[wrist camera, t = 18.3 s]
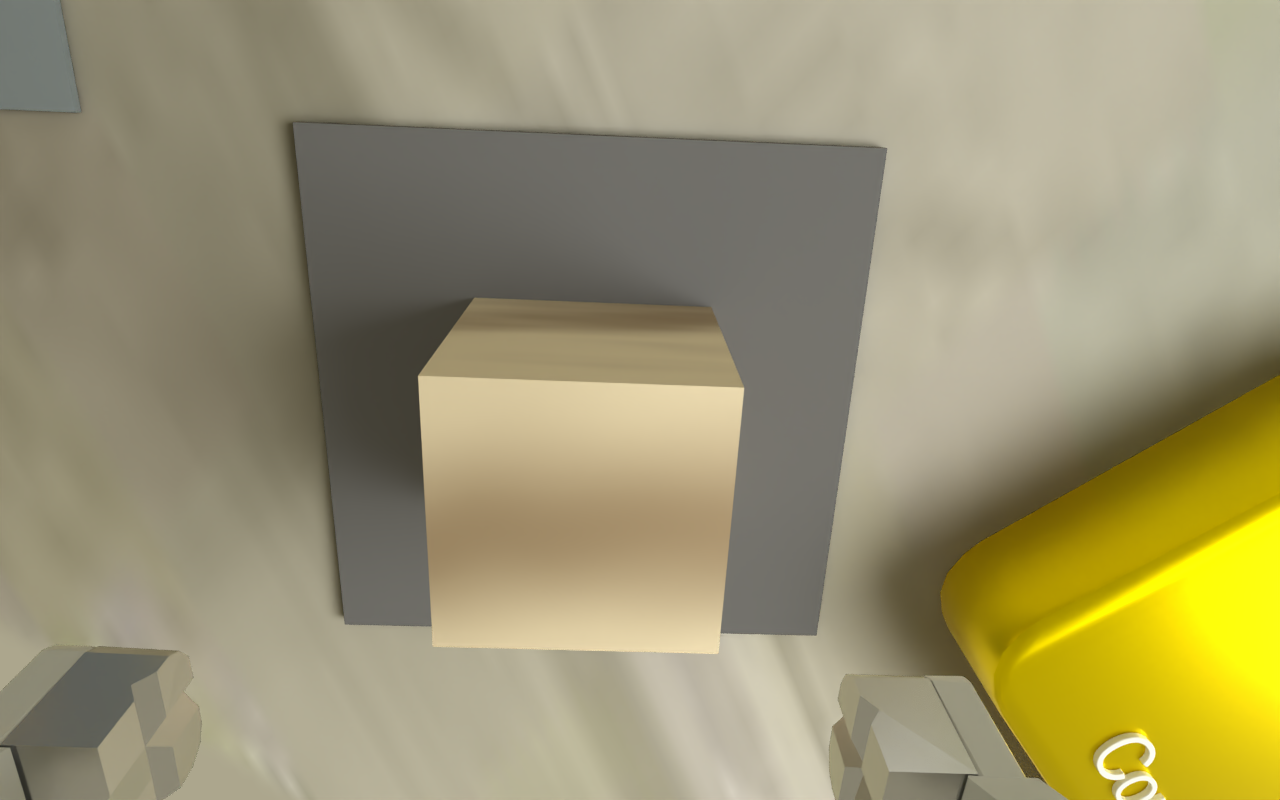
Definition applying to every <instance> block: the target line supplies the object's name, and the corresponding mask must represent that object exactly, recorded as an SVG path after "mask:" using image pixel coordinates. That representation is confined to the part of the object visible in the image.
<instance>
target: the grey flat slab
mask: <svg viewBox="0 0 1280 800" xmlns="http://www.w3.org/2000/svg"><path fill="white" fill-rule="evenodd" d="M0 109H8V110H30V111H53V112H81V108H80V103H79V98H78V93H77V88H76V82H75V77H74V72H73V67H72V61H71V56H70V51H69V46H68V41H67V35H66V30H65V25H64V20H63V14H62V9H61V4H60V0H0Z"/></svg>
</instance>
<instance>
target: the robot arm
mask: <svg viewBox="0 0 1280 800" xmlns="http://www.w3.org/2000/svg"><path fill="white" fill-rule="evenodd" d="M193 678H194V676H193V672H192V668H191V664H190V660H189V656H188V655H186V654H184V653H182V652H181V651H174V650H157V649H139V648H122V647H105V646H98V647H91V646H74V645H54V646H51V647H49V648H46V649H44V650H42V651H41V652H40V653H39V654H38V655H37V656H36V657H35V658H34V659H33V660H32V661H31V662H30V663H29V664H28V665H27V666H26V667H25V668H24V669H23V670H22V671H21V672H20V673H19V674H18V675H17V676H16V677H15V678H14V679H13V680H11V681H10V683H8V685H6V686H5V687H4V688H3V690H2V691H0V800H163V799H165V798H166V797H168V796H169V795H171V794H172V793H173V792H175V791H177V790H178V789H180V788H181V786H182V784H183V783H184V781H185V780H186V778H187V776H188V774H189V773H190V771H191V769H192V768H193V765H194V762H195V759H196V755H197V752H198V749H199V746H200V743H201V728H202V721H201V715H200V709H199V706H198V705H197V704H196V703H195V702H194V701H193V700H192V699H191V698H190V697H189V696H188V695H187V694H186V693H185V692H184V691H185V689H186V688H187V686H188V685H189V684H190V682H191V681H192V679H193ZM838 701H839V704H840V707H841V710H842V713H843V717H842V718H841V719H840V720H839V721H838V722H837V723H836V724H835V725H834V726H832V732H831V738H830V744H829V772H830V778H831V785H832V790H833V793H834V797H835V800H1068V799H1067V798H1065V797H1064V796H1062V795H1061V794H1060V793H1058V792H1057V791H1056V790H1054V789H1053V788H1051V787H1050V786H1049V785H1047V784H1046V783H1044V782H1043V781H1042V780H1040V779H1039V778H1026V776H1025V775H1024V773H1023V771H1022V769H1021V768H1020V766H1019V764H1018V763H1017V761H1016V759H1015V757H1014V756H1013V754H1012V752H1011V751H1010V749H1009V747H1008V745H1007V744H1006V742H1005V740H1004V739H1003V737H1002V735H1001V733H1000V732H999V730H998V728H997V727H996V725H995V723H994V721H993V720H992V718H991V716H990V715H989V713H988V711H987V709H986V708H985V706H984V704H983V702H982V701H981V699H980V697H979V696H978V694H977V692H976V690H975V689H974V687H973V685H972V684H971V682H970V681H969V680H968V679H966V678H965V677H964V676H923V677H921V676H892V675H857V674H846V675H845V677H844V678H843V680H842V682H841V686H840V691H839V695H838Z"/></svg>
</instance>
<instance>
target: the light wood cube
mask: <svg viewBox="0 0 1280 800" xmlns="http://www.w3.org/2000/svg"><path fill="white" fill-rule="evenodd" d="M418 385H419V403H420V422H421V440H422V458H423V476H424V495H425V513H426V531H427V549H428V567H429V586H430V604H431V622H432V640H433V647H468V648H508V649H548V650H587V651H627V652H667V653H707V654H718V652H719V642H720V632H721V621H722V611H723V601H724V591H725V580H726V570H727V560H728V550H729V539H730V529H731V519H732V509H733V498H734V488H735V478H736V468H737V457H738V447H739V437H740V427H741V416H742V406H743V396H744V386H743V383H742V381H741V378H740V376H739V374H738V371H737V369H736V366H735V364H734V361H733V359H732V356H731V354H730V352H729V349H728V347H727V344H726V342H725V339H724V337H723V334H722V332H721V330H720V327H719V325H718V322H717V320H716V317H715V315H714V312H713V310H712V308H711V307H696V306H671V305H646V304H621V303H596V302H571V301H546V300H521V299H496V298H474V299H473V300H472V302H471V303H470V304H469V306H468V307H467V309H466V310H465V311H464V313H463V314H462V316H461V317H460V318H459V320H458V321H457V322H456V324H455V325H454V327H453V328H452V329H451V331H450V332H449V334H448V335H447V336H446V338H445V339H444V340H443V342H442V343H441V345H440V346H439V347H438V349H437V350H436V352H435V353H434V354H433V356H432V357H431V358H430V360H429V361H428V363H427V364H426V365H425V367H424V368H423V370H422V371H421V372H420V374H419V375H418Z"/></svg>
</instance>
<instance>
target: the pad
mask: <svg viewBox="0 0 1280 800" xmlns="http://www.w3.org/2000/svg"><path fill="white" fill-rule="evenodd" d="M293 130H294V140H295V150H296V159H297V169H298V178H299V188H300V198H301V207H302V217H303V227H304V236H305V246H306V255H307V265H308V275H309V284H310V294H311V303H312V313H313V323H314V332H315V342H316V351H317V361H318V371H319V380H320V390H321V400H322V409H323V419H324V428H325V438H326V448H327V457H328V467H329V476H330V486H331V496H332V505H333V515H334V525H335V534H336V544H337V553H338V563H339V573H340V582H341V592H342V601H343V611H344V621H345V624H349V625H392V626H432V622H431V604H430V586H429V567H428V549H427V531H426V513H425V495H424V476H423V458H422V440H421V422H420V403H419V385H418V375H419V374H420V372H421V371H422V370H423V368H424V367H425V365H426V364H427V363H428V361H429V360H430V358H431V357H432V356H433V354H434V353H435V352H436V350H437V349H438V347H439V346H440V345H441V343H442V342H443V340H444V339H445V338H446V336H447V335H448V334H449V332H450V331H451V329H452V328H453V327H454V325H455V324H456V322H457V321H458V320H459V318H460V317H461V316H462V314H463V313H464V311H465V310H466V309H467V307H468V306H469V304H470V303H471V302H472V300H473V299H474V298H496V299H521V300H546V301H571V302H596V303H621V304H646V305H671V306H696V307H711V308H712V310H713V312H714V315H715V317H716V320H717V322H718V325H719V327H720V330H721V332H722V334H723V337H724V339H725V342H726V344H727V347H728V349H729V352H730V354H731V356H732V359H733V361H734V364H735V366H736V369H737V371H738V374H739V376H740V378H741V381H742V383H743V386H744V396H743V406H742V416H741V427H740V437H739V447H738V457H737V468H736V478H735V488H734V498H733V509H732V519H731V529H730V539H729V550H728V560H727V570H726V580H725V591H724V601H723V611H722V621H721V632H720V633H731V634H773V635H815V636H816V635H817V628H818V621H819V614H820V607H821V600H822V594H823V587H824V580H825V573H826V566H827V559H828V552H829V545H830V538H831V532H832V525H833V518H834V511H835V504H836V497H837V490H838V483H839V476H840V470H841V463H842V456H843V449H844V442H845V435H846V428H847V421H848V414H849V408H850V401H851V394H852V387H853V380H854V373H855V366H856V359H857V353H858V346H859V339H860V332H861V325H862V318H863V311H864V304H865V297H866V291H867V284H868V277H869V270H870V263H871V256H872V249H873V242H874V235H875V229H876V222H877V215H878V208H879V201H880V194H881V187H882V180H883V173H884V167H885V160H886V153H887V148H878V147H856V146H833V145H811V144H788V143H765V142H743V141H720V140H697V139H675V138H652V137H629V136H607V135H584V134H561V133H539V132H516V131H493V130H471V129H448V128H426V127H403V126H380V125H358V124H335V123H312V122H293Z"/></svg>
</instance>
